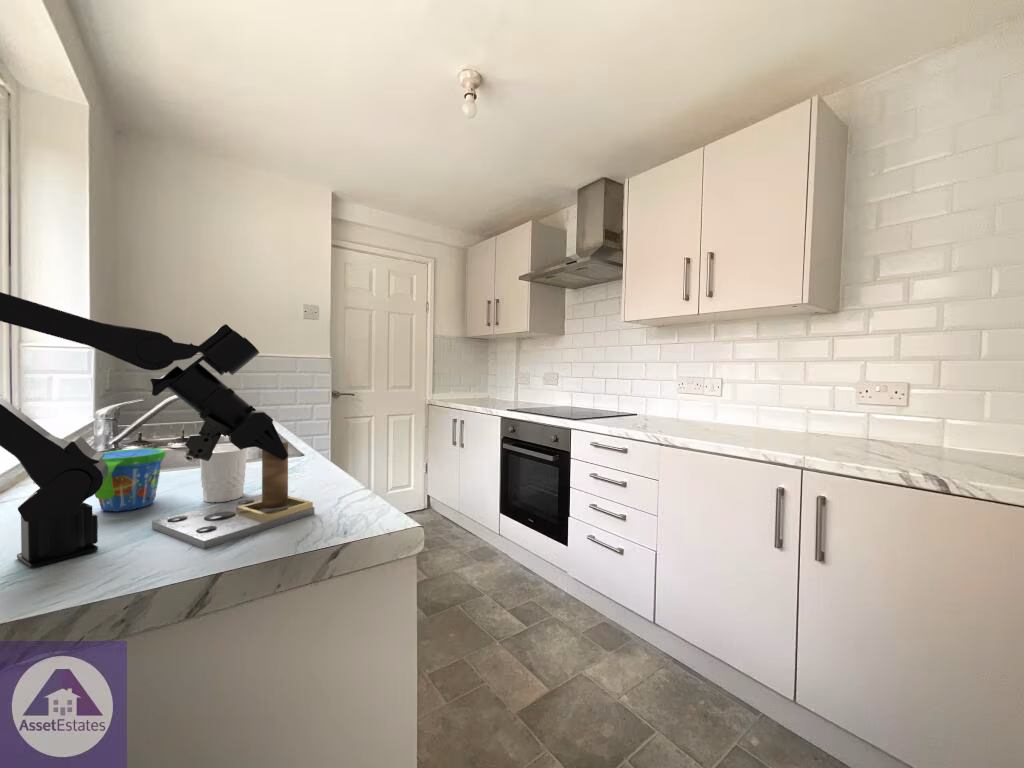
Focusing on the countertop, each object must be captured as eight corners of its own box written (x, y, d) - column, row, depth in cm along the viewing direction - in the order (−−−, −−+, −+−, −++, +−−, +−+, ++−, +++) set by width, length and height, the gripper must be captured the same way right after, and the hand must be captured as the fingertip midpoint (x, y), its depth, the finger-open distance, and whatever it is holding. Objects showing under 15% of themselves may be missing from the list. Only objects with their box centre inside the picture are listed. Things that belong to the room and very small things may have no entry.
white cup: (255, 493, 90) (255, 446, 89) (226, 504, 82) (226, 453, 81) (220, 491, 90) (220, 444, 90) (189, 502, 83) (189, 451, 82)
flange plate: (204, 549, 61) (204, 534, 61) (151, 528, 69) (151, 515, 69) (314, 513, 77) (314, 501, 77) (262, 500, 85) (262, 489, 85)
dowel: (263, 510, 72) (264, 445, 72) (260, 504, 76) (260, 442, 75) (289, 505, 75) (290, 443, 75) (285, 500, 78) (285, 440, 78)
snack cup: (124, 495, 86) (124, 446, 86) (183, 493, 89) (183, 445, 88) (60, 522, 71) (59, 462, 71) (133, 519, 73) (132, 460, 73)
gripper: (164, 427, 73) (240, 482, 80) (161, 440, 58) (254, 506, 65) (220, 381, 78) (287, 437, 85) (229, 383, 63) (309, 450, 70)
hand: (283, 456), depth 76 cm, fingers closed on dowel, 4 cm apart
